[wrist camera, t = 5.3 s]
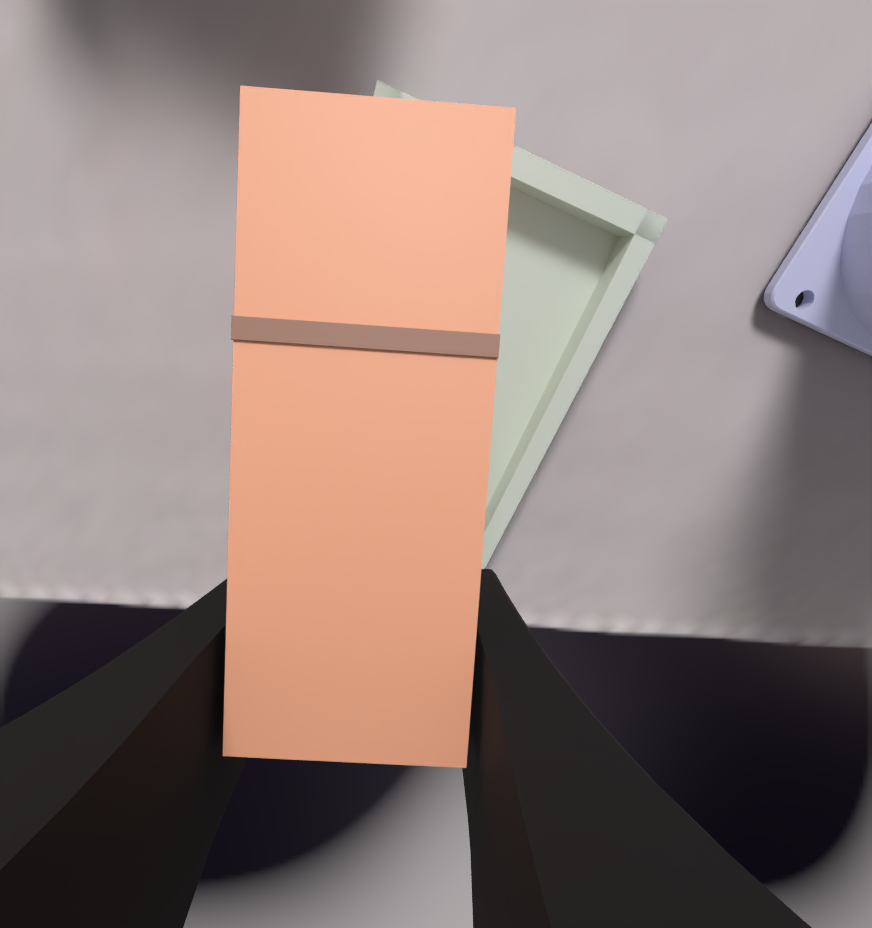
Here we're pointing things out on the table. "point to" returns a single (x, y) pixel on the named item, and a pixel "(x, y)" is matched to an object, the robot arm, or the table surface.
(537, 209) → the tray
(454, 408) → the orange block
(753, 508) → the table surface
